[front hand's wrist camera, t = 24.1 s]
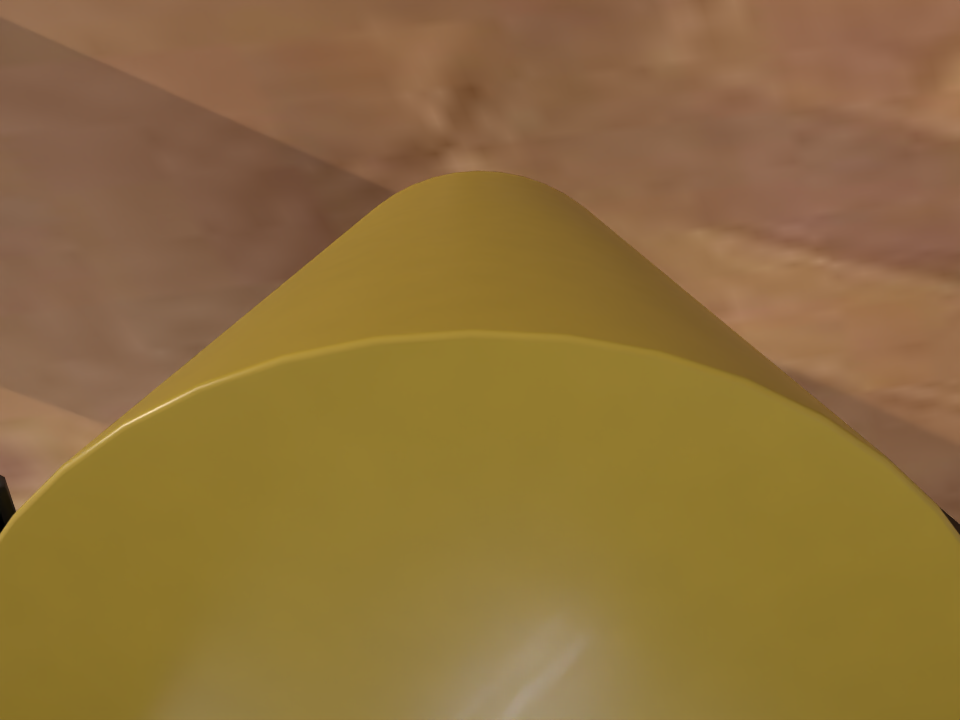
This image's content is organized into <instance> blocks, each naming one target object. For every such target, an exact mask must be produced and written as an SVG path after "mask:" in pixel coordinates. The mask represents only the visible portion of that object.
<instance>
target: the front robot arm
mask: <svg viewBox="0 0 960 720" xmlns="http://www.w3.org/2000/svg"><path fill="white" fill-rule="evenodd" d="M940 509H941V508H940ZM941 510H942V509H941ZM942 512H943V513H944V514H945V516H946V517H947V518H948V520H949V521H950V522H951V524H952V525H953V526H954V528H955V529H956V530H957V532H958V533H959V534H960V524H959V523H958V522H956V521H955V520H954V519H953V518H952V517H950V516H949V515H948V514H947V513H946V512H944V511H943V510H942ZM15 513H16V510H15V507H14V504H13V501H12V498H11V495H10V492H9V489H8V486H7V483H6V480H5V477H3V476H1V475H0V533H1V532H2V530H3V529H4V527H5V526H6V524H7V523H8V522H9V520H10V519H11V517H12V516H13V515H14V514H15Z"/></svg>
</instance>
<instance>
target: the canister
mask: <svg viewBox="0 0 960 720" xmlns="http://www.w3.org/2000/svg"><path fill="white" fill-rule="evenodd" d="M0 720H960V534H959V533H958V532H957V530H956V529H955V528H954V526H953V525H952V524H951V522H950V521H949V520H948V518H947V517H946V516H945V514H944V513H943V512H942V510H941V509H940V507H939V506H938V505H937V504H936V503H935V502H934V501H933V500H932V499H931V498H930V497H928V496H927V495H926V494H925V493H924V492H923V491H922V490H921V489H920V488H919V487H918V486H917V485H916V484H915V483H914V482H913V481H911V480H910V479H909V478H908V477H907V476H906V475H905V474H904V473H903V472H902V471H901V470H900V469H899V468H898V467H897V466H896V465H894V464H893V463H892V462H891V461H890V460H889V459H888V458H887V457H886V456H885V455H884V454H882V453H881V452H880V451H879V450H877V449H876V448H875V447H874V446H873V445H871V444H870V443H869V442H868V441H867V440H865V439H864V438H863V437H862V436H861V435H859V434H858V433H857V432H856V431H854V430H853V429H852V428H851V427H850V426H848V425H847V424H846V423H845V422H844V421H842V420H841V419H840V418H839V417H838V416H836V415H835V414H834V413H833V412H831V411H830V410H829V409H828V408H827V407H825V406H824V405H823V404H822V403H821V402H819V401H818V400H817V399H816V398H814V397H813V396H812V395H811V394H810V393H808V392H807V391H806V390H805V389H804V388H802V387H801V386H800V385H799V384H798V383H796V382H795V381H794V380H793V379H791V378H790V377H789V376H788V375H787V374H785V373H784V372H783V371H782V370H781V369H779V368H778V367H777V366H776V365H775V364H773V363H772V362H771V361H770V360H768V359H767V358H766V357H765V356H764V355H762V354H761V353H760V352H759V351H758V350H756V349H755V348H754V347H753V346H751V345H750V344H749V343H748V342H747V341H745V340H744V339H743V338H742V337H741V336H739V335H738V334H737V333H736V332H735V331H733V330H732V329H731V328H730V327H728V326H727V325H726V324H725V323H724V322H722V321H721V320H720V319H719V318H718V317H716V316H715V315H714V314H713V313H712V312H710V311H709V310H708V309H707V308H705V307H704V306H703V305H702V304H701V303H699V302H698V301H697V300H696V299H695V298H693V297H692V296H691V295H690V294H688V293H687V292H686V291H685V290H684V289H682V288H681V287H680V286H679V285H678V284H676V283H675V282H674V281H673V280H672V279H670V278H669V277H668V276H667V275H665V274H664V273H663V272H662V271H661V270H659V269H658V268H657V267H656V266H655V265H653V264H652V263H651V262H650V261H649V260H647V259H646V258H645V257H644V256H642V255H641V254H640V253H639V252H638V251H636V250H635V249H634V248H633V247H632V246H630V245H629V244H628V243H627V242H626V241H624V240H623V239H622V238H621V237H619V236H618V235H617V234H616V233H615V232H613V231H612V230H611V229H610V228H609V227H607V226H606V225H605V224H604V223H602V222H601V221H600V220H599V219H598V218H596V217H595V216H594V215H593V214H592V213H590V212H589V211H588V210H587V209H586V208H584V207H583V206H582V205H580V204H579V203H577V202H576V201H574V200H573V199H571V198H570V197H569V196H567V195H566V194H564V193H562V192H560V191H558V190H556V189H554V188H552V187H550V186H548V185H546V184H544V183H541V182H538V181H535V180H532V179H529V178H526V177H523V176H518V175H513V174H508V173H503V172H489V171H470V172H458V173H451V174H447V175H442V176H438V177H433V178H430V179H428V180H425V181H422V182H419V183H417V184H414V185H411V186H409V187H408V188H406V189H404V190H402V191H400V192H398V193H396V194H395V195H393V196H391V197H390V198H388V199H387V200H385V201H384V202H383V203H381V204H380V205H379V206H377V207H376V208H375V209H373V210H372V211H371V212H370V213H368V214H367V215H366V216H365V217H363V218H362V219H361V220H360V221H359V222H357V223H356V224H355V225H354V226H353V227H351V228H350V229H349V230H348V231H346V232H345V233H344V234H343V235H342V236H340V237H339V238H338V239H337V240H335V241H334V242H333V243H332V244H331V245H329V246H328V247H327V248H326V249H325V250H323V251H322V252H321V253H320V254H318V255H317V256H316V257H315V258H314V259H312V260H311V261H310V262H309V263H308V264H306V265H305V266H304V267H303V268H301V269H300V270H299V271H298V272H297V273H295V274H294V275H293V276H292V277H291V278H289V279H288V280H287V281H286V282H284V283H283V284H282V285H281V286H280V287H278V288H277V289H276V290H275V291H274V292H272V293H271V294H270V295H269V296H267V297H266V298H265V299H264V300H263V301H261V302H260V303H259V304H258V305H257V306H255V307H254V308H253V309H252V310H250V311H249V312H248V313H247V314H246V315H244V316H243V317H242V318H241V319H240V320H238V321H237V322H236V323H235V324H233V325H232V326H231V327H230V328H229V329H227V330H226V331H225V332H224V333H223V334H221V335H220V336H219V337H218V338H216V339H215V340H214V341H213V342H212V343H210V344H209V345H208V346H207V347H206V348H204V349H203V350H202V351H201V352H199V353H198V354H197V355H196V356H195V357H193V358H192V359H191V360H190V361H189V362H187V363H186V364H185V365H184V366H182V367H181V368H180V369H179V370H178V371H176V372H175V373H174V374H173V375H172V376H170V377H169V378H168V379H167V380H165V381H164V382H163V383H162V384H161V385H159V386H158V387H157V388H156V389H155V390H153V391H152V392H151V393H150V394H148V395H147V396H146V397H145V398H144V399H142V400H141V401H140V402H139V403H138V404H136V405H135V406H134V407H133V408H131V409H130V410H129V411H128V412H127V413H125V414H124V415H123V416H122V417H121V418H119V419H118V420H117V421H116V422H114V423H113V424H112V425H111V426H110V427H108V428H107V429H106V430H105V431H104V432H102V433H101V434H100V435H99V436H97V437H96V438H95V439H94V440H93V441H91V442H90V443H89V444H88V445H87V446H85V447H84V448H83V449H82V450H80V451H79V452H78V453H77V454H76V455H74V456H73V457H72V458H71V459H70V460H68V461H67V462H66V463H65V464H63V465H62V466H61V467H60V468H59V469H58V470H57V471H56V472H55V473H54V474H53V475H52V476H51V477H50V478H49V479H48V480H47V481H46V482H45V483H44V484H43V485H42V486H41V487H40V488H39V489H38V490H37V491H36V492H35V493H34V494H33V495H32V496H31V497H30V498H29V499H28V500H27V501H26V502H25V503H24V504H23V505H22V506H21V507H20V508H19V509H18V510H17V512H16V513H15V514H14V515H13V516H12V517H11V519H10V520H9V522H8V523H7V524H6V526H5V527H4V529H3V530H2V532H1V533H0Z"/></svg>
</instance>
